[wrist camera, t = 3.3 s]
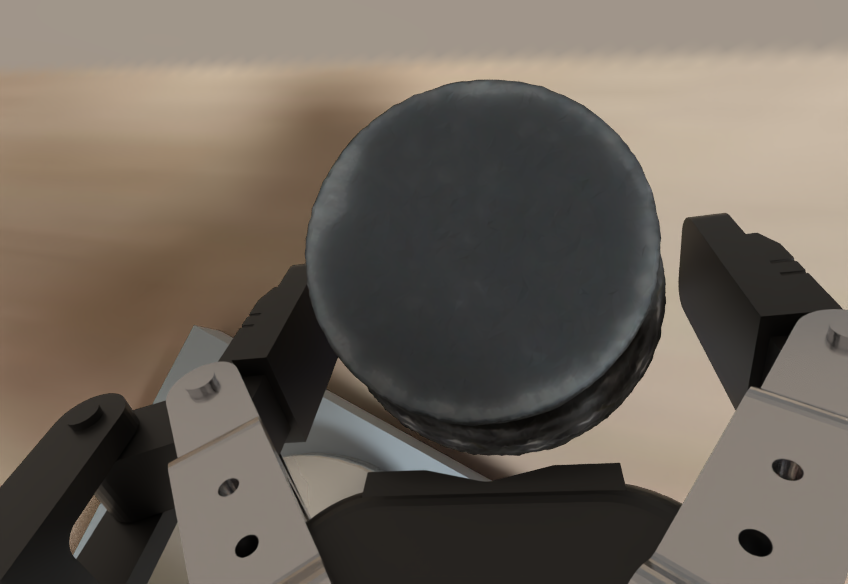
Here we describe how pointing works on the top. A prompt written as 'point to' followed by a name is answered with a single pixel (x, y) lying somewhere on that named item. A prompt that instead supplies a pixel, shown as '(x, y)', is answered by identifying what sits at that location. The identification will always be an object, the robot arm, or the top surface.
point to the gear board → (319, 425)
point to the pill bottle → (489, 266)
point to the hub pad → (318, 486)
